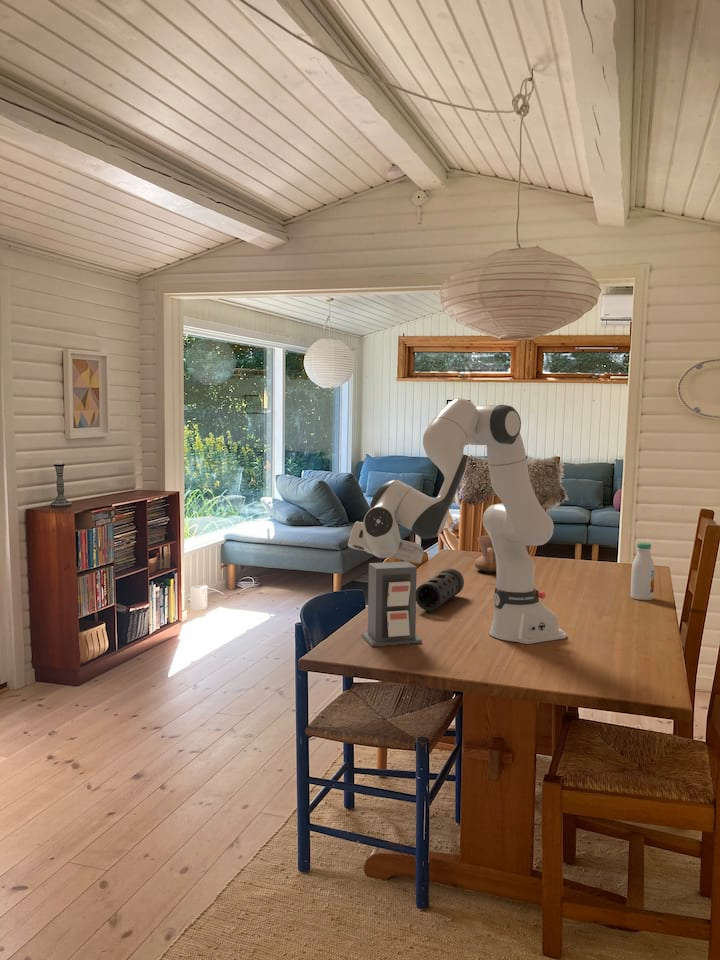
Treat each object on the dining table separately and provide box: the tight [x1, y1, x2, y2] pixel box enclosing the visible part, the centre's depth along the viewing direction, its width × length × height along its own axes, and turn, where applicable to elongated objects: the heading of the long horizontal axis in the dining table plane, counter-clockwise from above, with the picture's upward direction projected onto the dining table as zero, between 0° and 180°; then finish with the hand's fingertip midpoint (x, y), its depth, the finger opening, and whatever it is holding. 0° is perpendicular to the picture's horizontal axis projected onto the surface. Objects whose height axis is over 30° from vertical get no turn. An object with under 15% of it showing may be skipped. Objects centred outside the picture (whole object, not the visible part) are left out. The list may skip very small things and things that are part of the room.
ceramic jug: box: [474, 535, 497, 574], centre depth 322 cm, size 18×14×14 cm
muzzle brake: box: [416, 568, 465, 613], centre depth 268 cm, size 10×28×10 cm, turn 156°
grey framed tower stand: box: [361, 561, 423, 647], centre depth 225 cm, size 15×11×22 cm
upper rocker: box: [387, 581, 411, 607], centre depth 219 cm, size 6×1×7 cm, turn 105°
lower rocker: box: [387, 610, 410, 637], centre depth 220 cm, size 6×1×7 cm, turn 105°
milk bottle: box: [630, 542, 655, 601], centre depth 279 cm, size 8×8×20 cm
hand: (387, 554), depth 213 cm, fingers open, 8 cm apart
